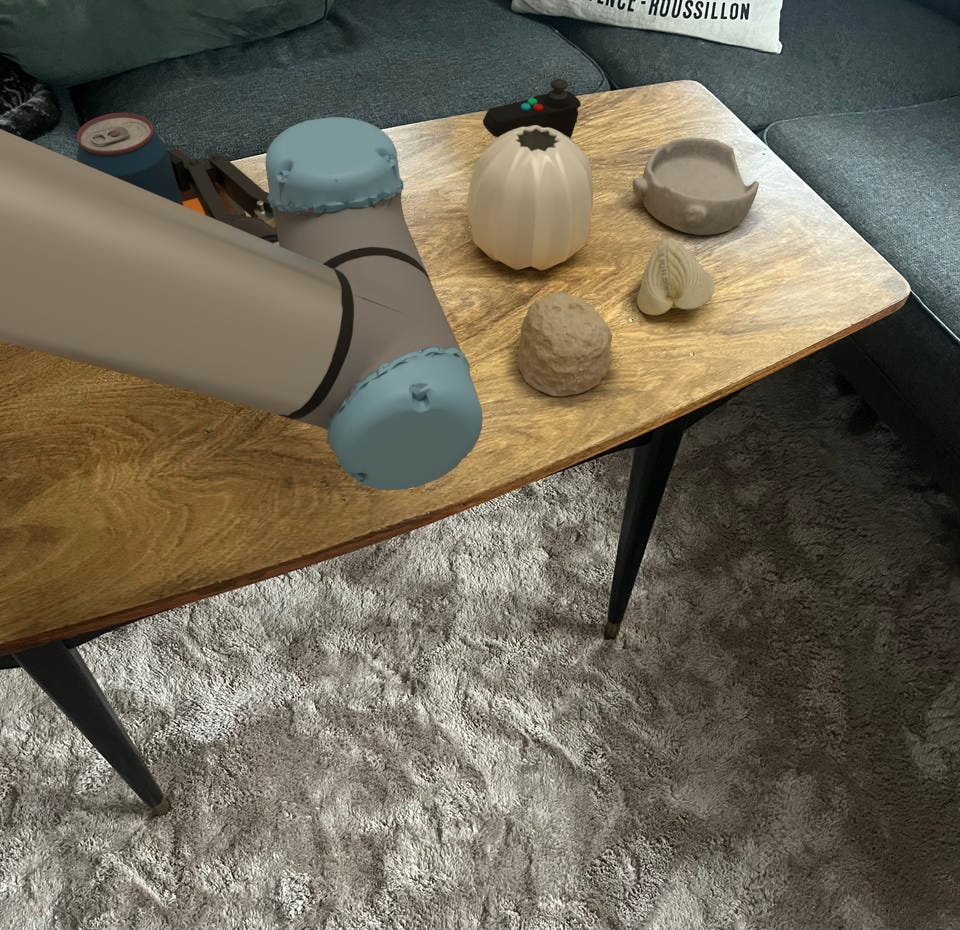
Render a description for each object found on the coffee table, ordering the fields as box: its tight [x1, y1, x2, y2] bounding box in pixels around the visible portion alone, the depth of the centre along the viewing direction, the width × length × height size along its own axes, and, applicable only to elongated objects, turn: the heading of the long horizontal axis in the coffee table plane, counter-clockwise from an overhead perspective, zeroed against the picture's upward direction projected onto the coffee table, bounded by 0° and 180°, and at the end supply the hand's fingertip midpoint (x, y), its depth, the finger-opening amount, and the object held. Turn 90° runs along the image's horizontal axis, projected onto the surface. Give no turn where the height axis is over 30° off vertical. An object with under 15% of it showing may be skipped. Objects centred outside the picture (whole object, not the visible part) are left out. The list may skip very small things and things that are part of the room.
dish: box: [632, 137, 760, 236], centre depth 99 cm, size 14×14×5 cm
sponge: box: [517, 291, 613, 397], centre depth 81 cm, size 9×10×10 cm
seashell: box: [636, 237, 715, 316], centre depth 88 cm, size 8×8×8 cm
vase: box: [466, 125, 594, 271], centre depth 90 cm, size 14×14×13 cm
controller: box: [482, 78, 582, 140], centre depth 102 cm, size 4×12×10 cm, turn 116°
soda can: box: [76, 112, 184, 206], centre depth 70 cm, size 7×7×12 cm
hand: (101, 164), depth 71 cm, fingers closed on soda can, 7 cm apart
